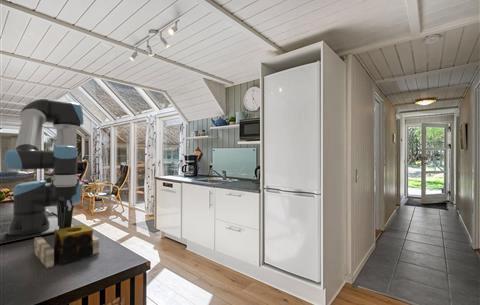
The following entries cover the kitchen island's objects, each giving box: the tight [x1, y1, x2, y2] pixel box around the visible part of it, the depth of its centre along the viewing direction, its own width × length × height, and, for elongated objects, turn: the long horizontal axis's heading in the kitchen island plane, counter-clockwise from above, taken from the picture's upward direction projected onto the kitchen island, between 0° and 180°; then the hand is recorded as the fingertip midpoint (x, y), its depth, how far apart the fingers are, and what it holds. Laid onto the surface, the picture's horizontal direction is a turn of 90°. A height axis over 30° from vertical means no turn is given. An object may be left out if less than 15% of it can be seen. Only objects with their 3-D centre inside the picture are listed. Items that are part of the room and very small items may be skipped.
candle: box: [53, 224, 94, 266], centre depth 89 cm, size 10×10×10 cm
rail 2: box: [92, 234, 100, 256], centre depth 97 cm, size 18×2×6 cm, turn 50°
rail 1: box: [33, 236, 55, 269], centre depth 86 cm, size 18×2×6 cm, turn 51°
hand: (63, 245), depth 94 cm, fingers closed
